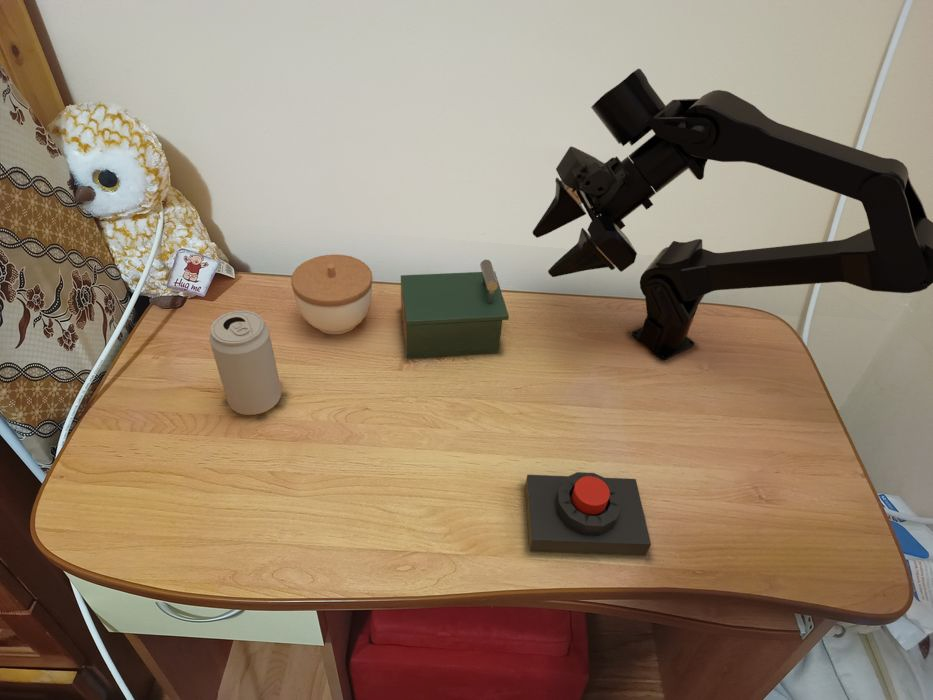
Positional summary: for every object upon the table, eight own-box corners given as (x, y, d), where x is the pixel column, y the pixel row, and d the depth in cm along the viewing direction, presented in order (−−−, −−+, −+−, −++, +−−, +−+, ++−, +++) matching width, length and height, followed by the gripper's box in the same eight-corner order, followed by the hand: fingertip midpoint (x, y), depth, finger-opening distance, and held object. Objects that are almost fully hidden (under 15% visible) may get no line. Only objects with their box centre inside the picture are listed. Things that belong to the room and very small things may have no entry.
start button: (603, 486, 66) (607, 476, 65) (609, 516, 63) (612, 506, 62) (569, 485, 66) (572, 475, 65) (573, 514, 63) (576, 504, 62)
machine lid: (494, 275, 89) (497, 248, 86) (508, 320, 82) (512, 292, 79) (400, 279, 87) (400, 252, 84) (406, 325, 80) (405, 297, 77)
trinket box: (307, 295, 93) (299, 241, 87) (379, 299, 93) (376, 246, 87) (290, 343, 85) (280, 287, 79) (369, 348, 85) (365, 292, 79)
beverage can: (264, 373, 81) (248, 300, 72) (292, 401, 77) (278, 327, 69) (218, 397, 77) (195, 323, 69) (246, 427, 74) (225, 353, 66)
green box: (486, 307, 93) (489, 275, 89) (498, 353, 86) (502, 320, 82) (401, 311, 91) (400, 279, 88) (406, 358, 84) (406, 325, 80)
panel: (631, 490, 70) (639, 468, 67) (645, 555, 64) (655, 534, 62) (524, 486, 70) (529, 464, 67) (529, 551, 64) (534, 530, 61)
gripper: (584, 98, 79) (490, 181, 84) (633, 166, 65) (517, 259, 71) (629, 157, 85) (540, 230, 91) (683, 230, 71) (573, 310, 77)
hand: (541, 254), depth 82 cm, fingers open, 9 cm apart
